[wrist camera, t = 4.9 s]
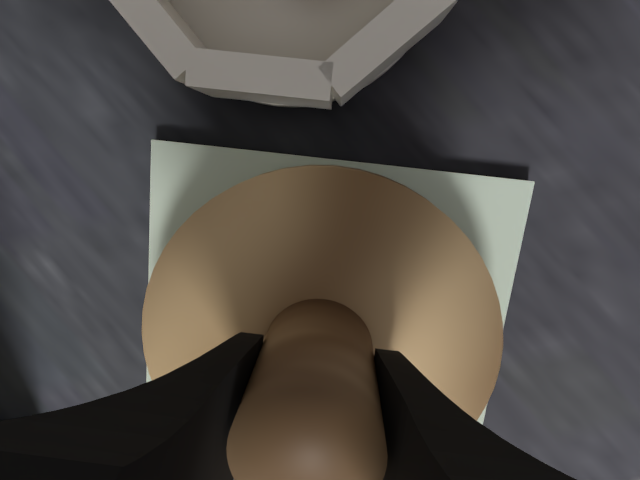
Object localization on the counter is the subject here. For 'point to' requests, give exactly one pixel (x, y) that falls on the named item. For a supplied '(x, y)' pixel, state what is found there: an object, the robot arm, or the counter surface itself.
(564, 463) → the counter surface
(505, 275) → the mat
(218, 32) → the bowl
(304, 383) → the lid
